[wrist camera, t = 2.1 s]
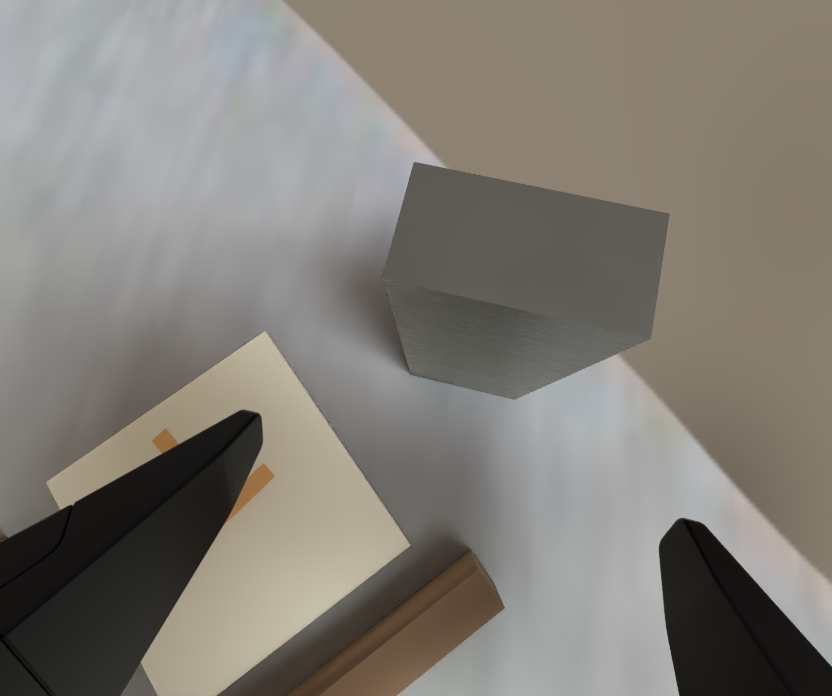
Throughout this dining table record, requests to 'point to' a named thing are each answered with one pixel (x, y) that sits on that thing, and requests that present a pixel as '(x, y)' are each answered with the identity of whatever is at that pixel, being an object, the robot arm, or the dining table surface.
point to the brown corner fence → (410, 635)
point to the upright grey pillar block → (517, 280)
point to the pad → (252, 521)
